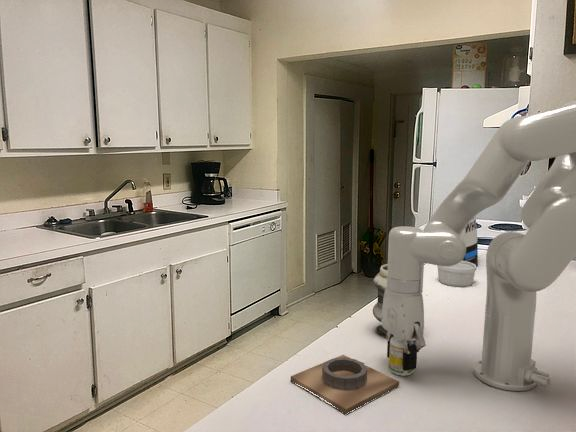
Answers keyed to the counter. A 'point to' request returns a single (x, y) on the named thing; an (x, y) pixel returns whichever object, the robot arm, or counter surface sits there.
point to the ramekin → (457, 274)
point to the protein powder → (471, 242)
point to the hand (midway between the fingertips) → (401, 362)
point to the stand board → (349, 395)
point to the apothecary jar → (380, 297)
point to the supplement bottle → (397, 357)
